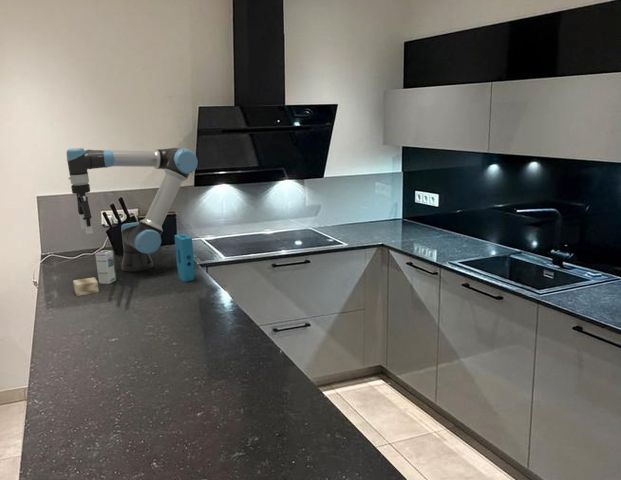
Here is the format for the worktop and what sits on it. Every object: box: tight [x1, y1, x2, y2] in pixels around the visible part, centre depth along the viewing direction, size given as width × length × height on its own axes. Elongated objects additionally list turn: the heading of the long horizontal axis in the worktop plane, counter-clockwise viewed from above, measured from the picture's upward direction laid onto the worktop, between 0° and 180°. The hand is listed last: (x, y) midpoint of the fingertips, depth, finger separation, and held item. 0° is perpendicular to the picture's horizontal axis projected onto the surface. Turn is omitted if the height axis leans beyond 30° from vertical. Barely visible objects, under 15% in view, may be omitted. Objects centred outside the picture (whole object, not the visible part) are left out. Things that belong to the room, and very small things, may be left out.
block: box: [174, 233, 195, 283], centre depth 266 cm, size 12×5×20 cm, turn 30°
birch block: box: [72, 276, 100, 297], centre depth 253 cm, size 9×9×5 cm
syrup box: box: [94, 249, 117, 285], centre depth 266 cm, size 6×6×14 cm
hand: (87, 230), depth 259 cm, fingers open, 13 cm apart
